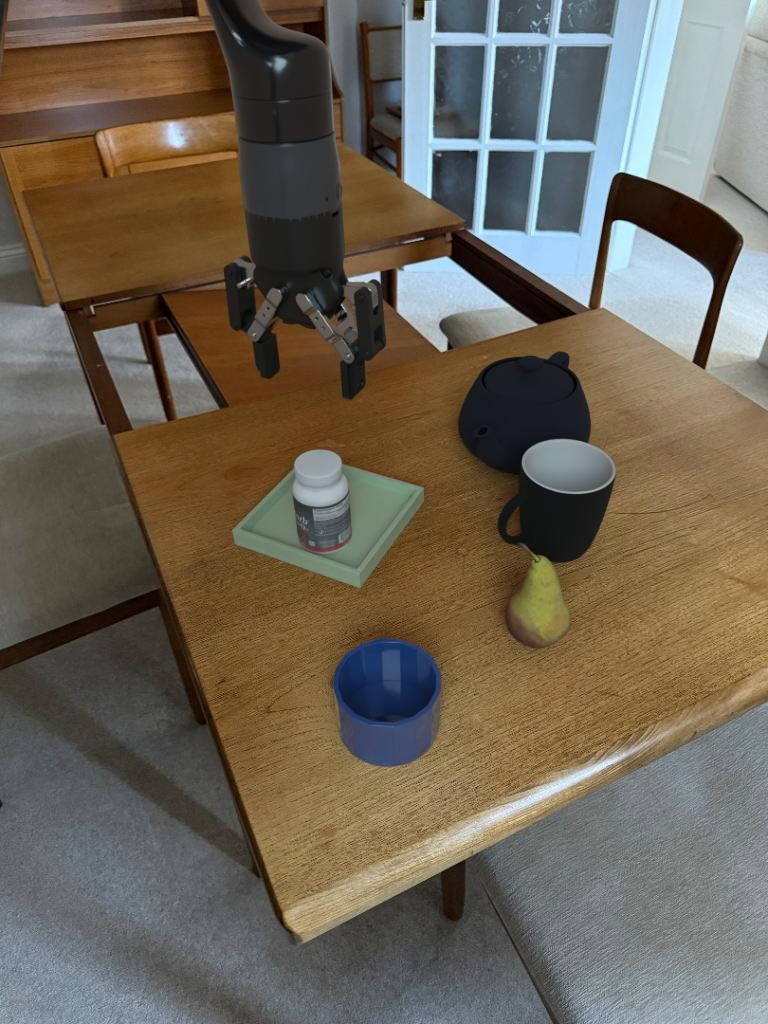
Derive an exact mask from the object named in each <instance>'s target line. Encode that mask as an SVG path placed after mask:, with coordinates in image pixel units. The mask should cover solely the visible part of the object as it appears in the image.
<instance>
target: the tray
mask: <svg viewBox="0 0 768 1024" xmlns="http://www.w3.org/2000/svg"><path fill="white" fill-rule="evenodd" d="M342 469H343V472H342V473H343V474H344V475H345V477H346V478H347V481H348V484H349V496H350V511H351V525H352V536H351V540H350V542H349V543H348V544H347V546H346V547H344V548H343V549H342V550H340V551H338V552H335V553H331V554H316V553H312V552H309V551H308V550H306V549H305V548H303V546H302V545H301V544H300V542H299V539H298V534H297V525H296V517H295V509H294V502H293V495H292V486H293V482H294V480H295V478H296V477H295V470H294V467H293V468H292V469H291V470H290V471H289V472H288V473H287V474H286V475H285V477H283V478H282V479H281V480H280V481H279V482H278V484H276V485H275V487H273V489H272V490H271V491H269V493H268V494H266V495H265V496H264V497H263V498H262V499H261V500H260V501H259V502H258V503H257V504H256V506H254V508H252V509H251V510H250V511H249V513H247V514H246V515H245V516H244V517H243V518H242V519H241V520H240V522H239V523H237V524H236V525H235V527H233V529H231V532H232V536H233V542H234V545H236V546H239V547H243V548H245V549H247V550H251V551H253V552H256V553H259V554H261V555H264V556H266V557H267V556H268V557H270V558H273V559H276V560H279V561H280V562H284V563H286V564H290V565H292V566H295V567H298V568H301V569H304V570H307V571H310V572H313V573H315V574H318V575H321V576H324V577H326V578H329V579H333V580H335V581H337V582H341V583H344V584H346V585H348V586H351V587H354V588H357V589H361V588H362V587H363V586H364V584H365V583H366V581H368V579H369V577H370V576H371V574H372V573H373V572H374V571H375V569H376V568H377V566H378V565H379V564H380V562H381V561H382V559H383V558H384V557H385V555H386V554H387V553H388V552H389V550H390V549H391V547H392V546H393V545H394V543H395V542H396V541H397V539H398V538H399V536H400V535H401V534H402V532H403V531H404V529H405V528H406V527H407V526H408V524H409V523H410V522H411V520H412V519H413V517H415V514H416V513H417V512H418V510H420V508H421V507H422V505H423V504H424V502H425V487H423V486H421V485H417V484H413V483H410V482H406V481H403V480H399V479H396V478H392V477H390V476H385V475H382V474H379V473H375V472H371V471H368V470H365V469H362V468H358V467H354V466H351V465H347V464H345V463H342Z"/></svg>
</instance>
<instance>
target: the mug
mask: <svg viewBox="0 0 768 1024" xmlns="http://www.w3.org/2000/svg"><path fill="white" fill-rule="evenodd" d="M616 469H617V468H616V464H615V462H614V461H613V459H612V458H611V457H610V455H608V454H607V452H605V451H604V450H602V449H601V448H599V447H598V446H596V445H593V444H590V443H589V442H588V443H585V442H582V441H577V440H570V439H553V440H547V441H543V442H540V443H538V444H536V445H534V446H532V447H531V448H529V449H528V450H527V451H526V452H525V454H524V455H523V458H522V461H521V467H520V475H519V482H518V492H517V493H515V495H513V496H512V497H511V498H510V499H509V500H508V501H507V502H506V503H505V505H504V507H502V509H501V511H500V513H499V516H498V517H497V524H496V525H497V532H498V534H499V537H500V538H501V539H502V540H503V541H504V542H505V543H507V544H510V545H514V546H517V543H518V542H520V543H523V544H524V545H526V546H527V547H528V548H529V550H530V551H531V552H532V553H533V554H535V555H536V556H538V555H541V556H544V557H546V558H547V559H548V560H550V562H551V563H569V562H573V561H576V560H578V559H579V558H581V557H582V556H583V555H584V554H586V552H587V551H588V550H589V549H590V548H591V546H592V545H593V542H594V541H595V539H596V538H597V535H598V532H599V530H600V528H601V526H602V523H603V520H604V518H605V515H606V512H607V509H608V506H609V503H610V499H611V496H612V492H613V489H614V485H615V480H616V474H617V470H616ZM517 509H518V514H519V515H518V518H519V525H520V533H519V534H517V535H511V534H508V530H507V526H508V523H509V522H510V518H511V517H512V515H513V514H514V512H515V511H516V510H517Z"/></svg>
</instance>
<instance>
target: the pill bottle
mask: <svg viewBox="0 0 768 1024" xmlns="http://www.w3.org/2000/svg"><path fill="white" fill-rule="evenodd" d="M342 464H343V461H342V458H341V457H340V455H339V454H338V453H335V452H334V451H331V450H328V449H312V450H308V451H305V452H303V453H301V454H299V456H297V458H295V461H294V463H293V468H294V470H295V477H296V478H295V480H294V482H293V486H292V495H293V502H294V509H295V517H296V525H297V534H298V539H299V542H300V544H301V545H302V546H303V548H305V549H306V550H308V551H309V552H312V553H316V554H331V553H335V552H338V551H340V550H342V549H343V548H344V547H346V546H347V544H348V543H349V542H350V540H351V536H352V525H351V511H350V496H349V484H348V481H347V478H346V477H345V475H344V474H343V473H342V472H343V469H342Z"/></svg>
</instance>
